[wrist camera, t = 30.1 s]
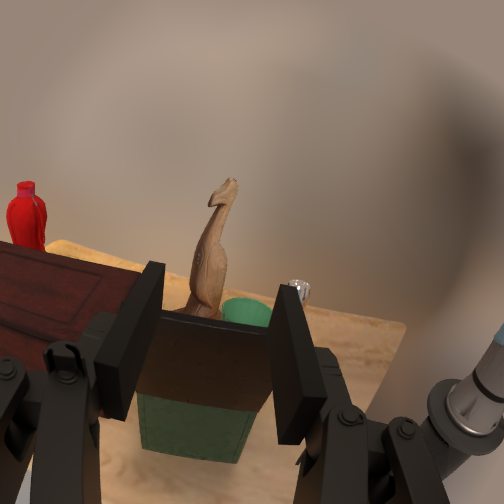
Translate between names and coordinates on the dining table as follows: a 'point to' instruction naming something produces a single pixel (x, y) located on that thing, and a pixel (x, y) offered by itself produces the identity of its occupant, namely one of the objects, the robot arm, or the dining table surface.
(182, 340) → the black flat panel
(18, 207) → the water bottle
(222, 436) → the green cube bin
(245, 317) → the mug
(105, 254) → the dining table surface
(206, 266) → the bird sculpture
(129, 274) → the storage box
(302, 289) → the wineglass
